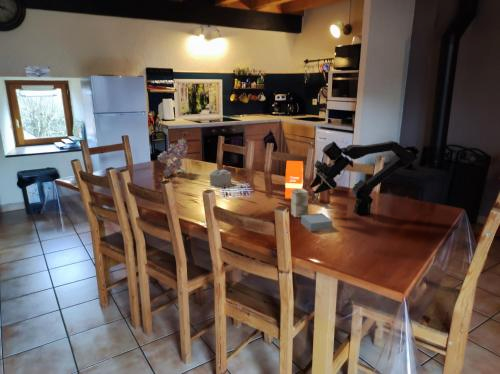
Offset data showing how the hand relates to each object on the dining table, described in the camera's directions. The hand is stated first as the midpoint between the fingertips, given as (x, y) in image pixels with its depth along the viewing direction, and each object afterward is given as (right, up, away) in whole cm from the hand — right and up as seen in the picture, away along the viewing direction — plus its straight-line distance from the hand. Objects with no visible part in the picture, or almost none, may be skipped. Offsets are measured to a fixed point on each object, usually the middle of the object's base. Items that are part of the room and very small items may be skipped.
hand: (312, 190), depth 171 cm
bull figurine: (+4, -7, +21) cm, 23 cm away
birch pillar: (-6, -12, +3) cm, 13 cm away
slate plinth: (0, -16, -10) cm, 19 cm away
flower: (-81, +10, +82) cm, 116 cm away
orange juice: (-5, -4, +31) cm, 32 cm away
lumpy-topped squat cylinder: (-48, +3, +57) cm, 75 cm away
